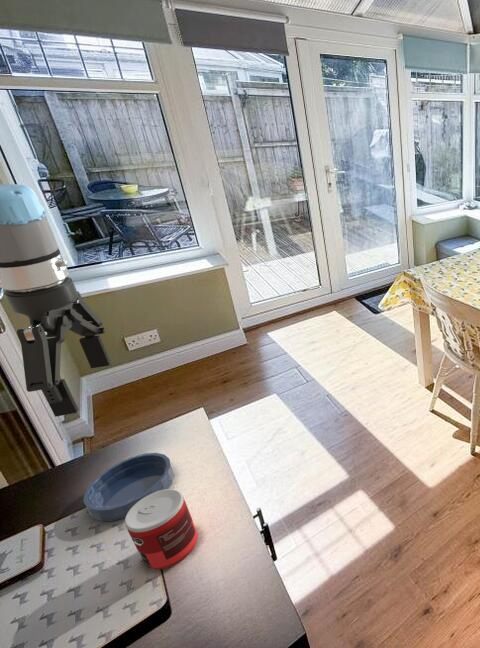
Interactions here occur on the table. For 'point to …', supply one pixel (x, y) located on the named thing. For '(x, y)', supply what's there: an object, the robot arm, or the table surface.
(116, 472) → the bowl
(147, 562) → the canned food
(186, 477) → the table surface
